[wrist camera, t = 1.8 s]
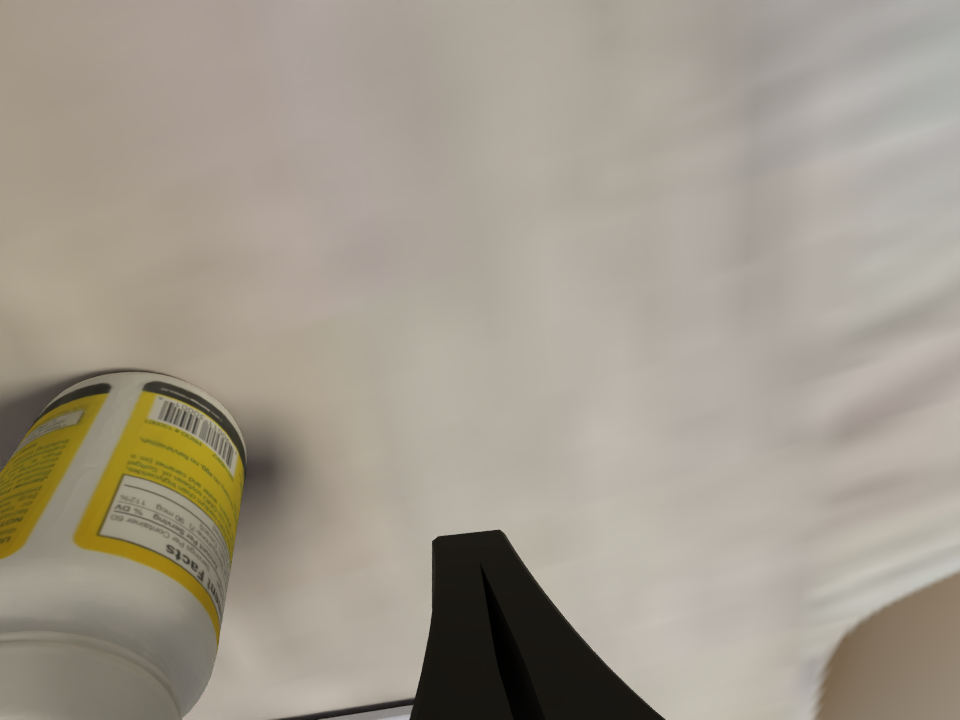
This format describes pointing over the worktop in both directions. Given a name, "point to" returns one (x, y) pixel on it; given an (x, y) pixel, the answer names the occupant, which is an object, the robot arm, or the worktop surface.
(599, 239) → the worktop surface
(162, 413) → the supplement bottle
